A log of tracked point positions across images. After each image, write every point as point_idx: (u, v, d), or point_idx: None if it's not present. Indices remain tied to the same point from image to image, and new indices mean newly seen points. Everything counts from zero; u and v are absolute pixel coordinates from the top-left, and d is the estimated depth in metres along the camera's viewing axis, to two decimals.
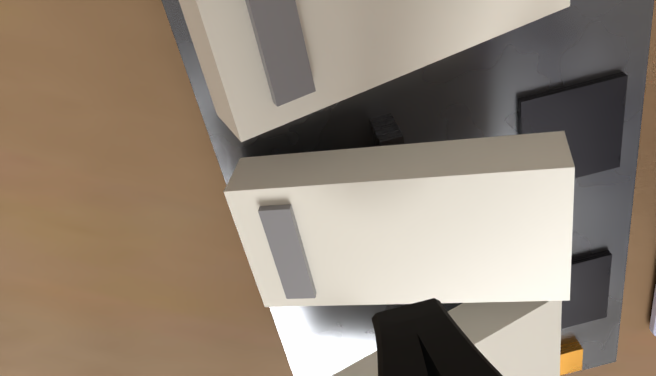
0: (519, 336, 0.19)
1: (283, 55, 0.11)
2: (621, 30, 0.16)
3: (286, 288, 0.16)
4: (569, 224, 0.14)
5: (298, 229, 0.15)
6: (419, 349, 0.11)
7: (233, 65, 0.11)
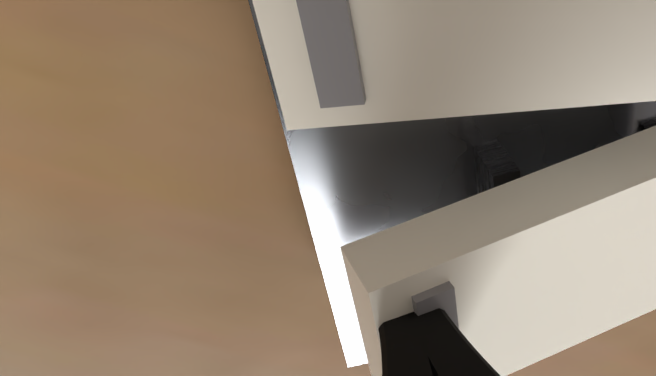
0: (654, 207, 0.13)
1: None
2: None
3: (321, 88, 0.11)
4: None
5: None
6: (423, 348, 0.11)
7: None
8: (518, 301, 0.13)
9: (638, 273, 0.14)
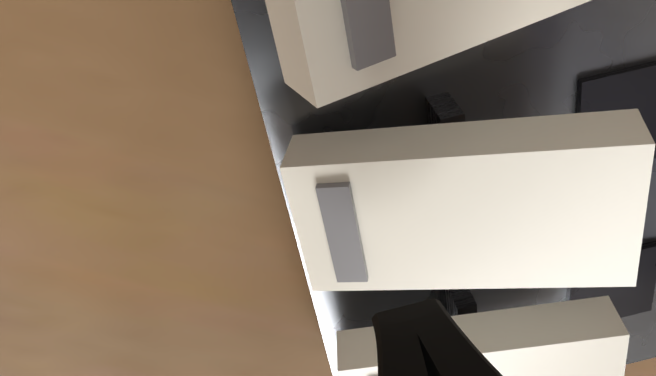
0: (565, 361, 0.17)
1: (367, 16, 0.10)
2: None
3: (337, 271, 0.16)
4: (643, 205, 0.13)
5: (355, 208, 0.15)
6: (419, 349, 0.11)
7: (315, 24, 0.10)
8: None
9: None
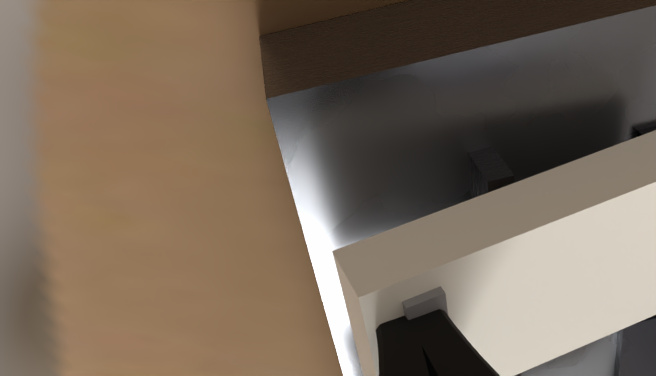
0: None
1: None
2: None
3: None
4: None
5: None
6: (420, 349, 0.11)
7: None
8: None
9: None
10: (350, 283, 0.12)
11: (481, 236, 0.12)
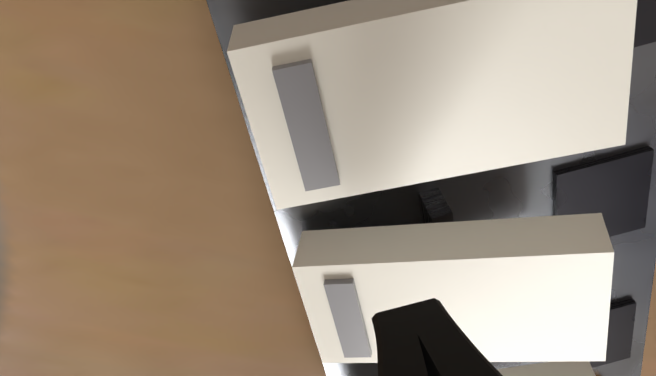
0: None
1: (312, 156, 0.13)
2: (648, 110, 0.18)
3: (344, 349, 0.18)
4: (607, 298, 0.15)
5: (358, 299, 0.17)
6: (419, 349, 0.11)
7: (273, 155, 0.14)
8: None
9: None
10: (229, 43, 0.13)
11: (359, 17, 0.12)
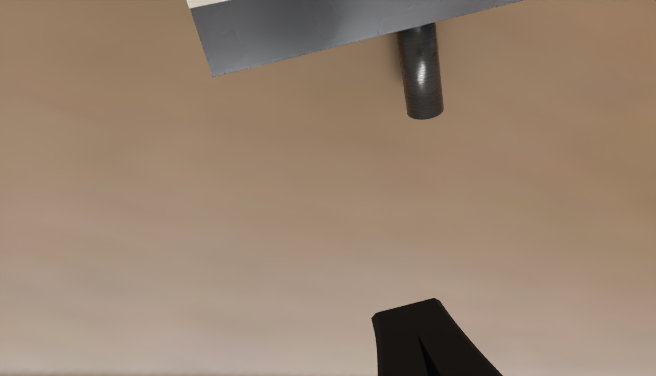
0: None
1: None
2: None
3: None
4: None
5: None
6: (419, 349, 0.11)
7: None
8: None
9: None
10: None
11: None
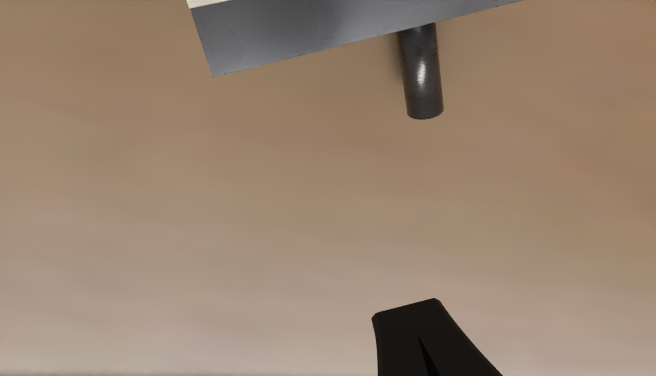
0: None
1: None
2: None
3: None
4: None
5: None
6: (419, 349, 0.11)
7: None
8: None
9: None
10: None
11: None
